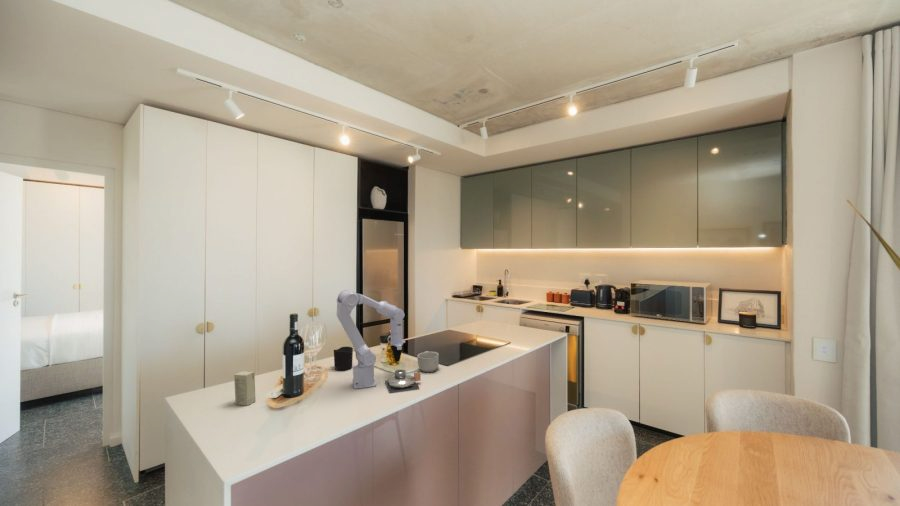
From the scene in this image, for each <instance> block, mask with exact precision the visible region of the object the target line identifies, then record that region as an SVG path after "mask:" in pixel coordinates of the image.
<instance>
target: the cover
mask: <svg viewBox="0 0 900 506" xmlns="http://www.w3.org/2000/svg"><path fill="white" fill-rule="evenodd" d="M406 375H407V373H406V370H405V369H397V370H394V376H395V378H396V379H402V378H405V377H406Z"/></svg>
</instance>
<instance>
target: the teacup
mask: <svg viewBox="0 0 900 506" xmlns="http://www.w3.org/2000/svg"><path fill="white" fill-rule="evenodd" d="M439 355H440V354H439V352H437V351H428V350H425V351H423V352H420V353H418V354H417V355H416V357H417V358H416V359H417V366H418V368H419V370H420V371H422V372H425V373H431V372H435V371H436V370H437V368H439V364H440V363H439V361H440V360H439Z"/></svg>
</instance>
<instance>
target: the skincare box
mask: <svg viewBox="0 0 900 506" xmlns="http://www.w3.org/2000/svg"><path fill="white" fill-rule="evenodd" d="M233 379H234V380H233V381H234V396H235V398H234V399H235V400H234V401H235V405H237V404H238V405H239V406H249V405H252V404H253V403H256V401H257V398H256V381H255V379H256V378H255V372H254V371H246V370H242V371H240V372H237V373H235V374H234V375H233Z"/></svg>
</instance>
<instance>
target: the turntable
mask: <svg viewBox="0 0 900 506" xmlns="http://www.w3.org/2000/svg"><path fill="white" fill-rule="evenodd" d="M387 380H388V381H387V385H389V386H391V387H396V388H403V387H408V386H411V385H413V384H414V383H415V382H419V381H422V380H421V372H420V371H417V372H414V373H413V375H410V374H406V377H405V378H402V379H396V378H395V375H393V376H391V377H389V378H388V379H387Z"/></svg>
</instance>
